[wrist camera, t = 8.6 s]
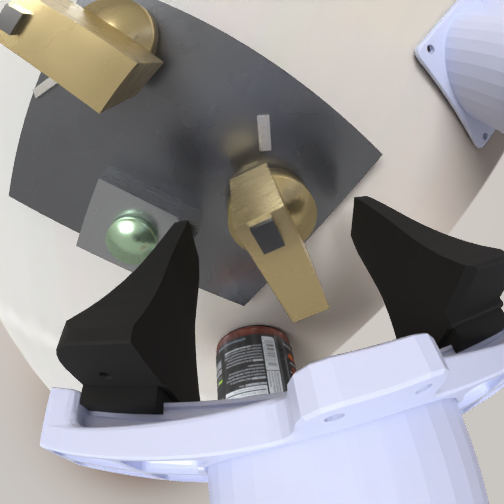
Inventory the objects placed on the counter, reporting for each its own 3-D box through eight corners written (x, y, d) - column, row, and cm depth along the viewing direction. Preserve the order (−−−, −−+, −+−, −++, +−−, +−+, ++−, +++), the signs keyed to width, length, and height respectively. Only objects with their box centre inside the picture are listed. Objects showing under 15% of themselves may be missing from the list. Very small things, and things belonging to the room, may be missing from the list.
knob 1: (190, 40, 9) (168, 25, 5) (126, 114, 10) (72, 152, 6) (102, -18, 6) (39, -46, 2) (47, 57, 8) (-31, 72, 4)
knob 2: (323, 230, 15) (359, 302, 11) (254, 260, 16) (267, 338, 12) (287, 141, 12) (324, 193, 8) (205, 181, 12) (198, 250, 8)
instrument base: (100, -18, 7) (71, -31, 4) (373, 148, 13) (403, 170, 11) (17, 187, 12) (-10, 214, 10) (242, 294, 19) (246, 331, 16)
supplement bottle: (290, 356, 24) (315, 476, 15) (224, 366, 24) (234, 487, 16) (287, 315, 21) (321, 467, 12) (207, 328, 21) (212, 481, 12)
